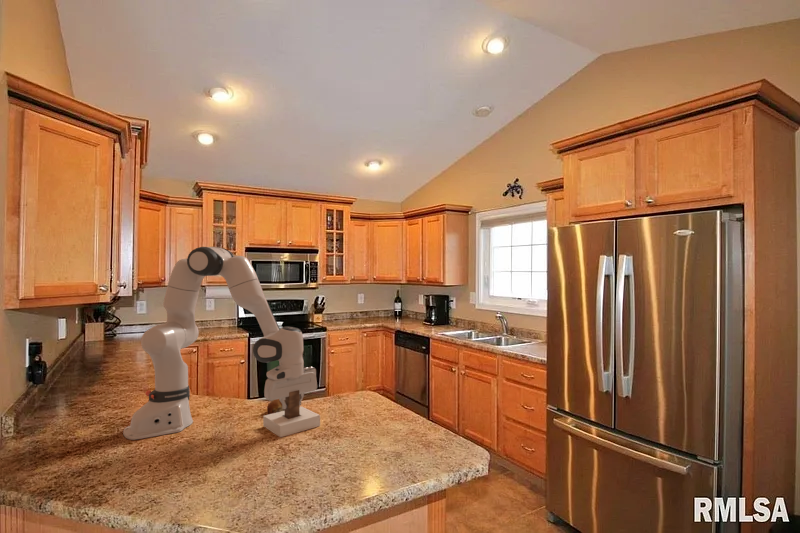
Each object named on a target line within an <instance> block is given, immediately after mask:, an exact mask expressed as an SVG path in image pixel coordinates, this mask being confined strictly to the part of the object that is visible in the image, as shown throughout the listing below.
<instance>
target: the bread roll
mask: <svg viewBox="0 0 800 533" xmlns="http://www.w3.org/2000/svg"><path fill="white" fill-rule="evenodd" d="M284 402H285V400H284ZM266 411H267V412H266V413H267V415H269V414H273V413H277V412H281V411H285V409H283V408H282V403H281V402H280V400H279V399H276V400H271V401H269V403H268V405H267V406H266Z"/></svg>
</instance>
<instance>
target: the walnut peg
mask: <svg viewBox="0 0 800 533" xmlns="http://www.w3.org/2000/svg"><path fill="white" fill-rule="evenodd" d="M285 403H287V404H288V409H285V417H286V418H287V419H291V418H295V417H298V416H300V413H299V407H300V406H299V390H298V391H293V392H289V397H285Z"/></svg>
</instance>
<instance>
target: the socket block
mask: <svg viewBox="0 0 800 533" xmlns="http://www.w3.org/2000/svg"><path fill="white" fill-rule="evenodd" d="M299 413H300V416H298V417H295V418H291V419H287V418H286V417H285V411H281V412H277V413H273V414H269V415H268V414H266V415H265V414H264V415H262V416H263V417H262V418H263V420H262V421H263V422H262V423H263V424H262V425H263V426H264V428H265V427H266V428H265V429H267V430H268V431H269V432H271V433H273V434H274V435H276V436H277V437H279V438H284V437H287V436H290V435H293V434H296V433H300V432H304V431H307V430H310V429H314V428H317V427H321V414H319V413H316V412H314V411H312V410H310V409H308V408H306V407H304V406H302V405H300V406H299Z"/></svg>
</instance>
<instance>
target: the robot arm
mask: <svg viewBox="0 0 800 533" xmlns="http://www.w3.org/2000/svg"><path fill="white" fill-rule="evenodd" d="M170 273H171V274H170V275H169V280H168V283H167V286H166V291H165V295H164V299H163V303H162V304H163V305H162V306H163V308H164V310H166V311H165V312H166V322H165V323H161V324H156V325H155V326H153V327H150V328H149V329H147V330H146V331H145V332H143V334H142V336H141V340H140V345H141V348H142V349H143V350H144V352H145V353H147V354H148V355H149V357H150V359H151V361H152V364H153V369H154V390H150V389H148V390H146V392H145V396H147V397H148V401H147V402H146V403H145V404H144V405H142V406H141V407H140V408H139V409H137V410H136V411H135V412H134V413H133V415H132V417H131V421H130V425H128V426H126V427H125V428H124V429H123V433H122V435H123V436H124V438H126V439H127V440H131V441H134V440H140V439H146V438H152V437H157V436H164V435H168V434H169V435H170V434H174V433H179V432H182V431H183V430H184V429H185V428H187V427H189V426H191V425H192V424H193V422H194V420H193V417H192V414H191V409H190V398H191V397H190V396H191V392H190V391H191V390H190V385H189V366H188V364H187V363H186V362H185V361H184V359H183V356H182V353H181V349H185V348H187V347H189V346H191V345H192V344H193V343H195V342H196V341H197V340H198V338H199V334H200V333H199V332H200V331H199V327H198V326H197V324H196V308H197V303H198V299H199V294H200V290H201V286H202V283H203V280H204V278H206V277H217V276H221V277H222V278H223V279H224V280H225V283H226V284H227V288H228V290H229V293H230V295H231V298H232V299H233V301H234V303H235V304H236V305H237V306H238V307H240V308H241V309H245V310H247V311H248V312H250V313H252V314H253V316H254V317H255V318H256V320H257V323H258V324H259V328H260V329H261V332H262V334H263V337H261V338H259V339H258V340H257V341H255V343H254V344H253V346H252V353H253V356H254V358H255V359H256V360H257V362H260V363H264V364H265V363H266V364H267V363H271V362H275V361H278V362H279V365H277V366H276V367H274V368H272V369H270V370H268V371H266V378H267V379H266V380H265V381H264V382H265V384H264V390H263V393H264V398H265V399H266V400H267V401H269V402H271V401H272V400H276V399H279V400H280V402H281V403H282V408H283V409H288V404H287V403H285V402H284V400H285V397H289V392H293V391H298V390H299V407H301V406H302V401H303V398H304V396H305V394H306V393H310V392H315V391H316V390H317V389H318V382H317V369H316V368H315V367H313V366H309V367H308V366H307V367H305V366H304V364H305V362H304V357H303V356H304V355H303V353H304V336H303V332H302V330H301V329H300V328H298V327H295V326H283V327H281V328H280V326H279V325H278V323H277V320H276V318H275V315H274V313H273V311H272V309H271V307H270V305H269V303H268V301H267V299H266V298H267V297H266V296H265V294H264V291H263V287H262V285H261V283H260V280H259V278H258V275H257V272H256V271H255V269H254V267H253V265H252V263H251V262H250V260H249V258H247V257H246V256H243V255H234V254H233V253H232V252H231V251H230V250H229V249H227V248H225V247H218V246H200V247H199V246H198V247H197V248H194V249H192V250H191V251H190V252H189V254H188V256H187V258H181V259H179V260H177V261H176V263H175V265H174V267H173V269H172V270H171V272H170Z"/></svg>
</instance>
